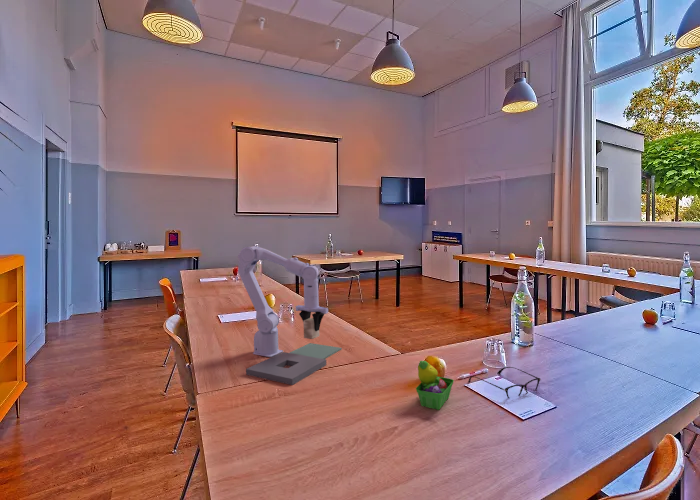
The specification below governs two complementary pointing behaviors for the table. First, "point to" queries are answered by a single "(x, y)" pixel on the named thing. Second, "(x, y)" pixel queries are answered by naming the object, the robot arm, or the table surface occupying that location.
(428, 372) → the fruit basket
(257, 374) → the pocket plate
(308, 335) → the birch block
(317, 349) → the rubber mat
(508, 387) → the eyeglasses
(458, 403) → the table surface
